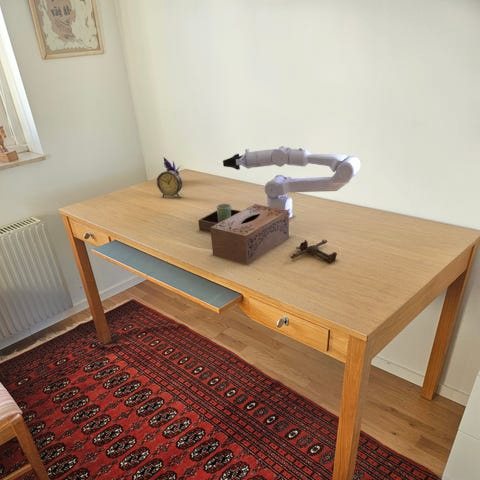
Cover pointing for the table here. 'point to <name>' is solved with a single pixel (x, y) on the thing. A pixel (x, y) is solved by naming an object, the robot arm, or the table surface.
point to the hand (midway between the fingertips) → (228, 162)
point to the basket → (211, 220)
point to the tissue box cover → (250, 233)
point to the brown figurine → (315, 251)
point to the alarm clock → (169, 182)
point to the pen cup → (223, 212)
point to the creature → (170, 167)
